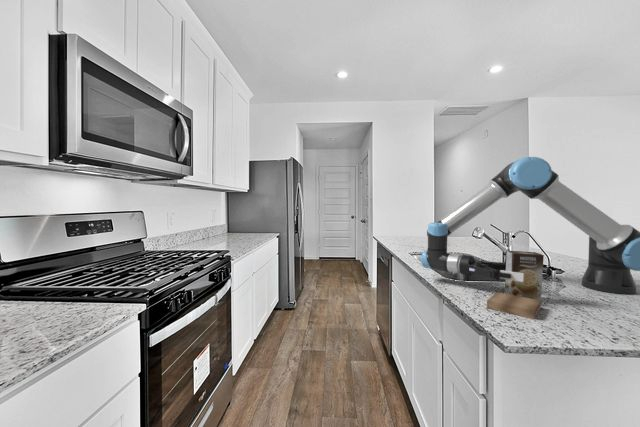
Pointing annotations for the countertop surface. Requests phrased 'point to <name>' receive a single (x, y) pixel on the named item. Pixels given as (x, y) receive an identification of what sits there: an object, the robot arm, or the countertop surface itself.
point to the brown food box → (525, 274)
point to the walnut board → (514, 305)
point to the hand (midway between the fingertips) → (527, 274)
